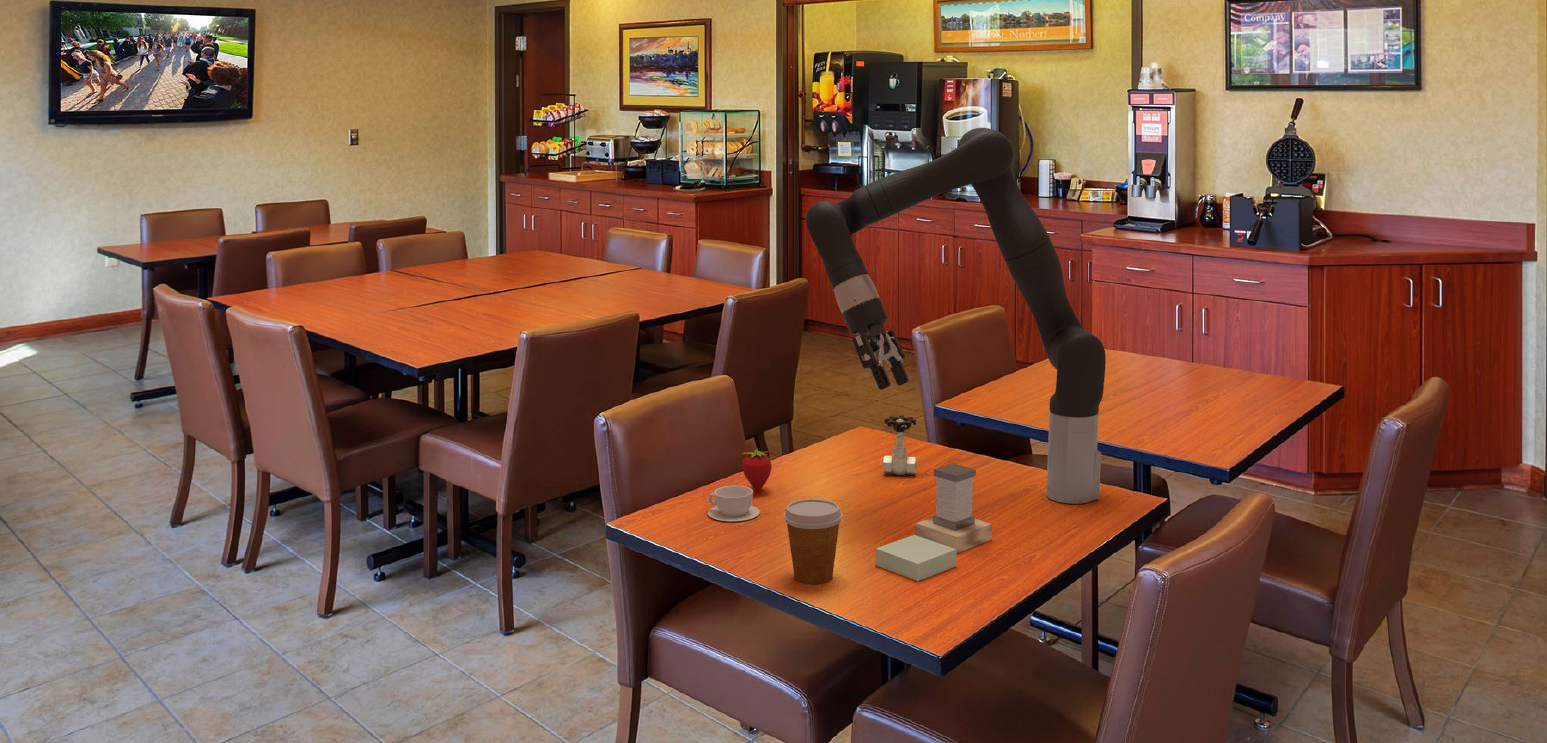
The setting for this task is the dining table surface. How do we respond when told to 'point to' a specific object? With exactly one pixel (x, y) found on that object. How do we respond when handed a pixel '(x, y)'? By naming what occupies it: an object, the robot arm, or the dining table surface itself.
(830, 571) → the disposable coffee cup
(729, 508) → the teacup
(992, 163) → the robot arm
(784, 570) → the dining table surface
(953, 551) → the stand
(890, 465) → the valve
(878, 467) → the dining table surface
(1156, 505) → the dining table surface
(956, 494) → the grey square pillar
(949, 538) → the stand
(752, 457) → the strawberry
